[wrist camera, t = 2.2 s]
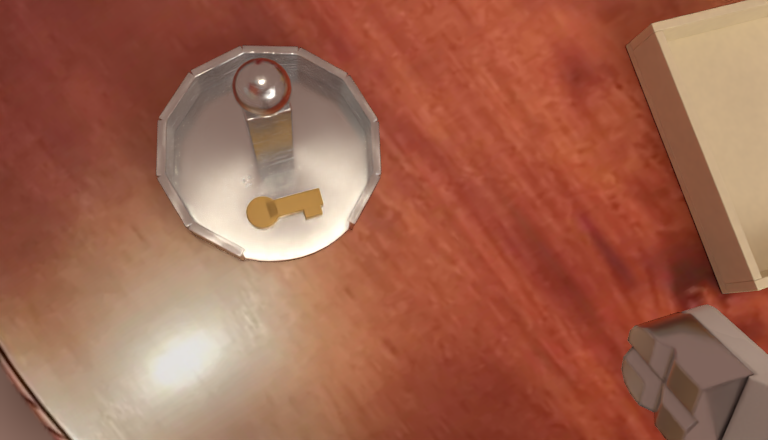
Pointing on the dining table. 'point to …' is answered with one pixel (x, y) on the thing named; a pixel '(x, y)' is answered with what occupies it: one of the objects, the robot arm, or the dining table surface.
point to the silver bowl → (267, 150)
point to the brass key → (283, 208)
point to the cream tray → (715, 128)
